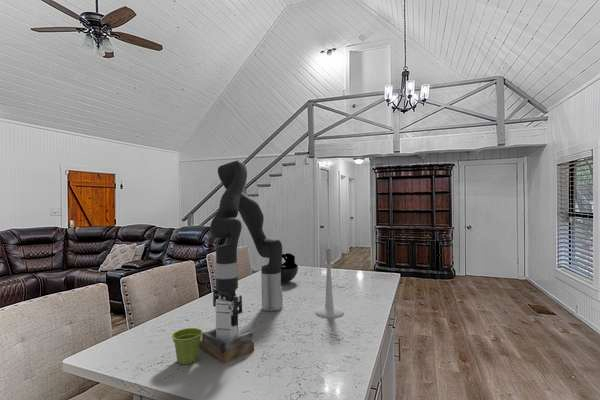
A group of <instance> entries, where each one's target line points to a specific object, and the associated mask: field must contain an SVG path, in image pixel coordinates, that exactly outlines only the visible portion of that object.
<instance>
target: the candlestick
mask: <svg viewBox="0 0 600 400" xmlns="http://www.w3.org/2000/svg"><path fill="white" fill-rule="evenodd" d="M325 250H326V252H325V253H326V259H325V261H326V262H324V264H325V268H326V282H325V283H326V284H325V305H324V306H320V307H318V308H317V309H316V310H315V311H314V313H315V316H317V317H320V318H324V319H337V318H341V317H342V316H344V310H343V309H341V308H340V307H339V306H338V307H337V306H335V305H334V298H333V284H332V283H333V282H332V270H331V268H332V264H333V262H332V256H331V253H332V251H331V247H327V248H326V249H325Z"/></svg>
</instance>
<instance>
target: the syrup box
mask: <svg viewBox="0 0 600 400" xmlns="http://www.w3.org/2000/svg"><path fill="white" fill-rule="evenodd" d="M227 302H228V304H229V305H230V306H232V305H234V303H233V301H232V302H229V301H224V299H221V300H220V299H219V300H218V299H217V300H216V307H215V329H216V338H218V339H220V340H222V341H226V340H229V339H231V338H234V337H237V336H238V334H239V324H238V325H236V326H234V327H233V326H231V313H230V309H229V310H228V304H227ZM237 308H238V309H239V307H237ZM232 309H233V311H234V308H232Z"/></svg>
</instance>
